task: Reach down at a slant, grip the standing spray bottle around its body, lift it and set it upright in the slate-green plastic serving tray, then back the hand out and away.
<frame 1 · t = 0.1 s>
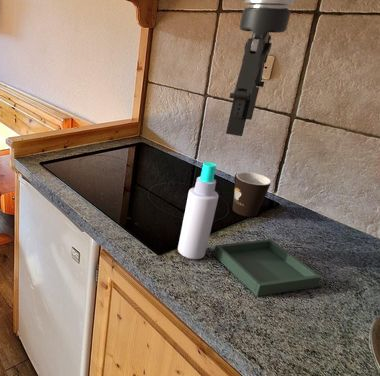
hand: (239, 126, 79), 31 cm above the worktop, tool pointing down, fingers open, 13 cm apart
tray: (262, 270, 88), on the worktop
spray bottle: (190, 253, 93), on the worktop
coffee mug: (244, 209, 114), on the worktop
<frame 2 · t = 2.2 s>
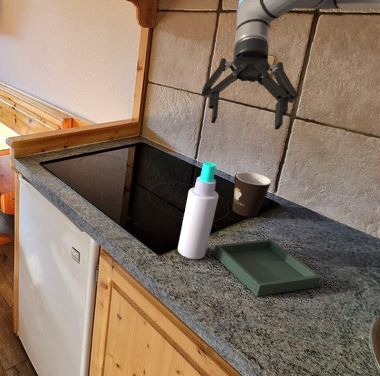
hand: (245, 123, 92), 28 cm above the worktop, tool tilted 45°, fingers open, 13 cm apart
nothing on the worktop moved.
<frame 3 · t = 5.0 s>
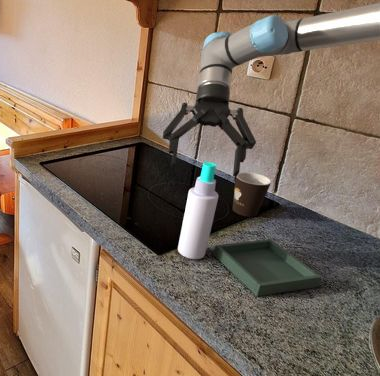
hand: (204, 170, 92), 18 cm above the worktop, tool tilted 45°, fingers open, 13 cm apart
nothing on the worktop moved.
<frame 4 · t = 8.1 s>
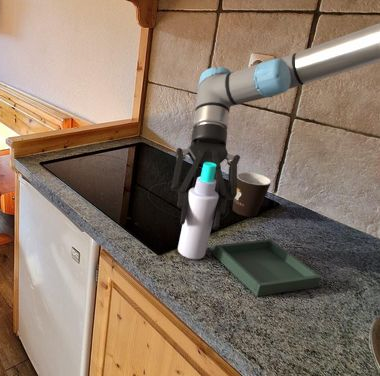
hand: (199, 225, 86), 9 cm above the worktop, tool tilted 45°, fingers closed on spray bottle, 6 cm apart
spray bottle: (190, 253, 93), on the worktop, touching gripper
everything else where it was.
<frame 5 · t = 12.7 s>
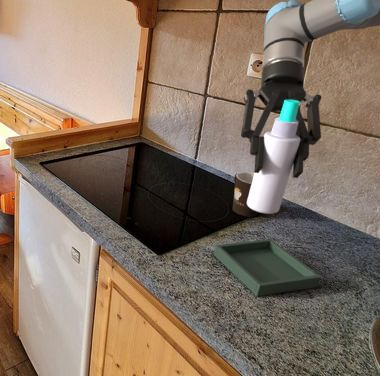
hand: (277, 172, 76), 24 cm above the worktop, tool tilted 45°, fingers closed on spray bottle, 6 cm apart
spray bottle: (261, 208, 83), point 14 cm above the worktop, touching gripper
everything else where it was.
when the fingers open (10 cm above the worktop, at t = 17.1 s): spray bottle stays where it is, resting on tray.
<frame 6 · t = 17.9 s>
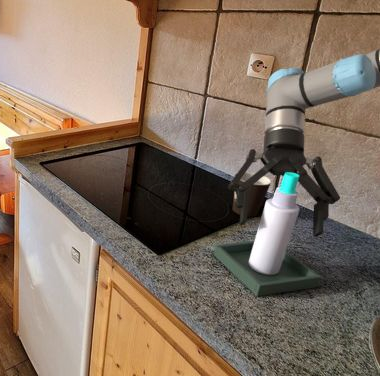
hand: (279, 228, 81), 12 cm above the worktop, tool tilted 45°, fingers open, 13 cm apart
spray bottle: (263, 268, 88), resting on tray
everything else where it was.
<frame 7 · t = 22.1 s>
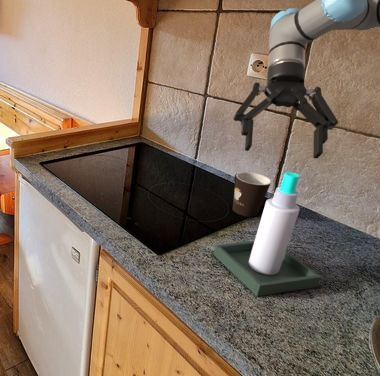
hand: (282, 151, 87), 24 cm above the worktop, tool tilted 45°, fingers open, 13 cm apart
nothing on the worktop moved.
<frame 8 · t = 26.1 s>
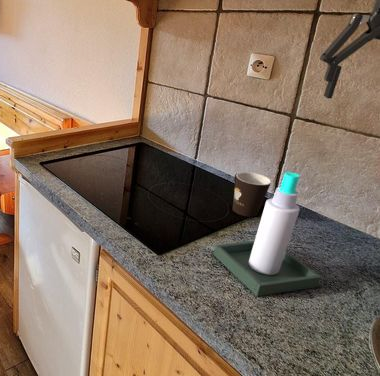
hand: (364, 100, 85), 35 cm above the worktop, tool pointing down, fingers open, 13 cm apart
nothing on the worktop moved.
at the end: spray bottle inside the target area in the tray (0.1 cm from its centre), point 0.4 cm above the tray's base; spray bottle tilted 0°; the gripper is holding nothing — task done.
